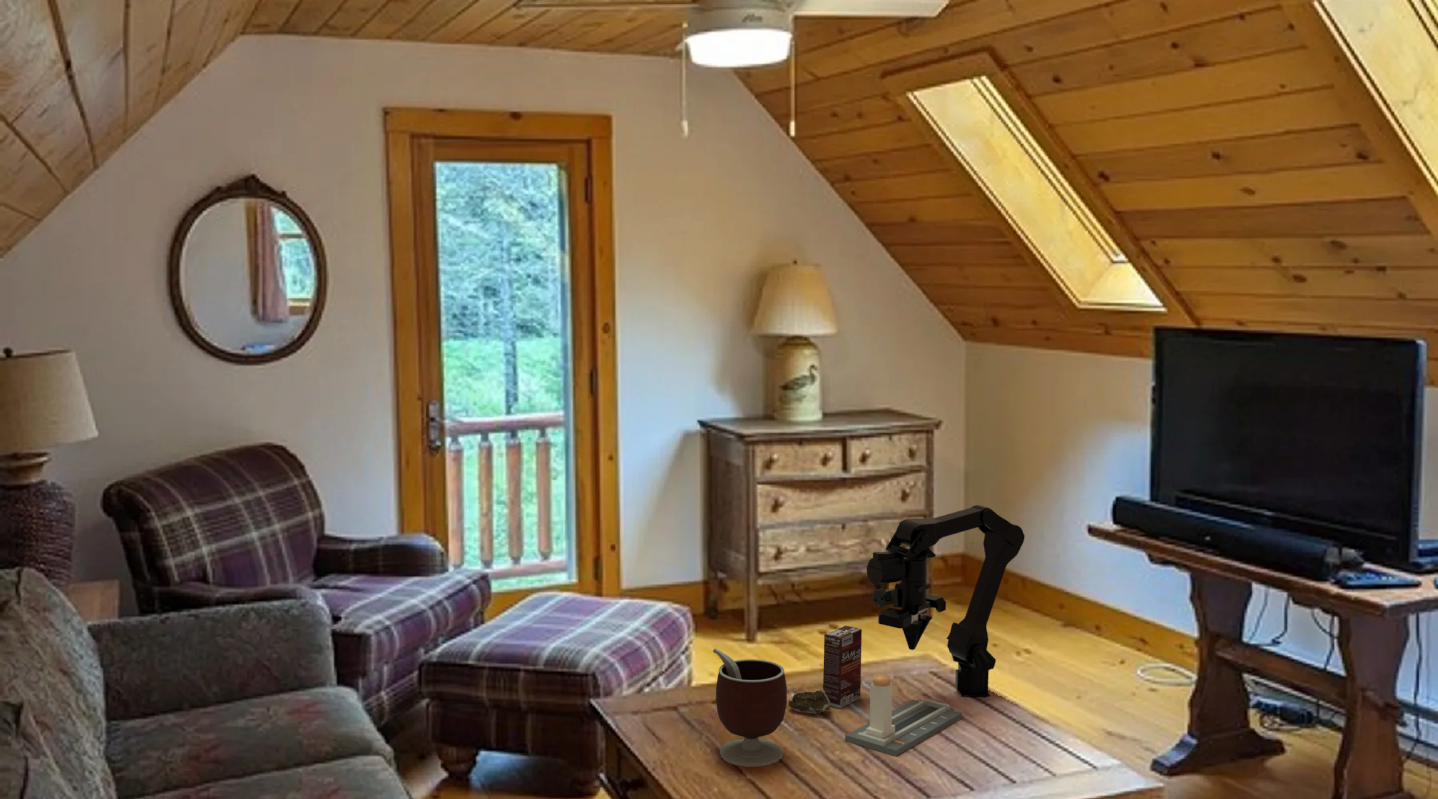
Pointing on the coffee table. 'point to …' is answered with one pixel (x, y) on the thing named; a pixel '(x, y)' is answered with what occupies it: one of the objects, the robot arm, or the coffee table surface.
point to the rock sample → (810, 702)
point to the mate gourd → (750, 708)
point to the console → (908, 726)
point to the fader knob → (881, 707)
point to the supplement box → (842, 665)
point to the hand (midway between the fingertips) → (911, 649)
